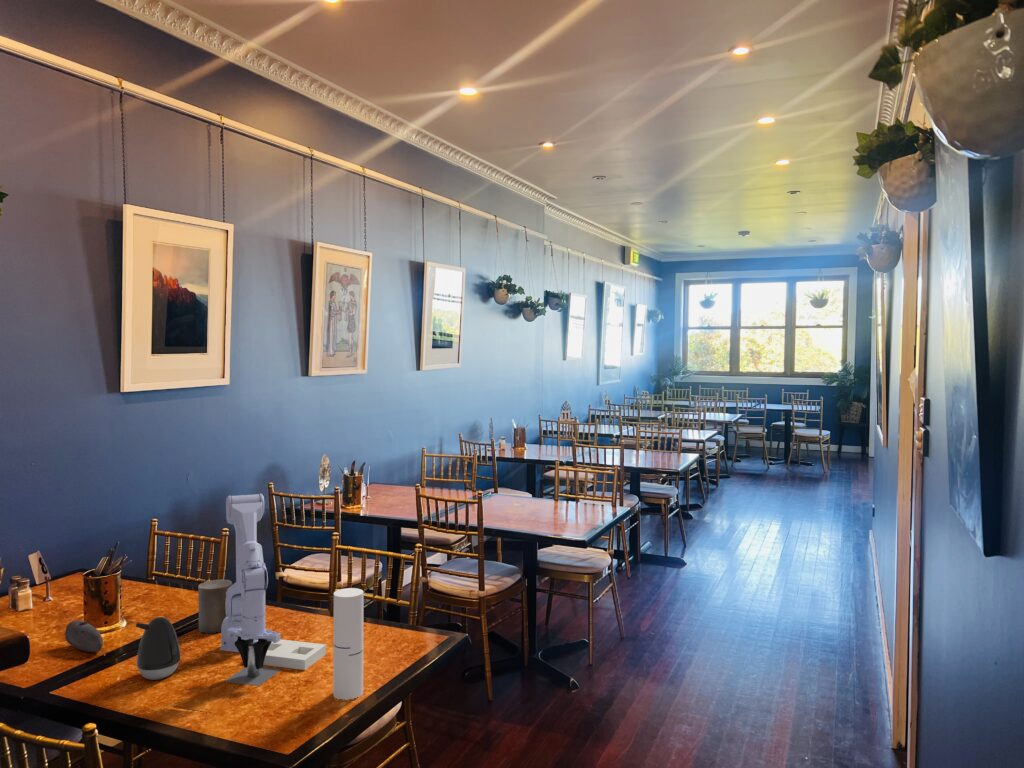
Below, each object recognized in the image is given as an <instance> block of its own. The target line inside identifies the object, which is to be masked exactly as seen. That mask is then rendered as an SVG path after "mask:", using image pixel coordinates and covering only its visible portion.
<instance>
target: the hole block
mask: <svg viewBox="0 0 1024 768" xmlns="http://www.w3.org/2000/svg"><path fill="white" fill-rule="evenodd" d="M326 654H327V644H323V643H316V642H308V641H306V642H305V641H299V640H298V641H297V640H291V639H289V640H288V639H282V638H280V641H279V642H277V643H273V642H271V644H270V646H269V648H268V650H267V653H266V656H265V659H264V664H263V666H269V667H278V668H285V669H286V668H287V669H294V670H302V671H307V669H308V668H310V667H312V665H314V664H315V663H316V662H317V661H319V660H320V659H322V658H323V657H324V656H325V655H326Z"/></svg>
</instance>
